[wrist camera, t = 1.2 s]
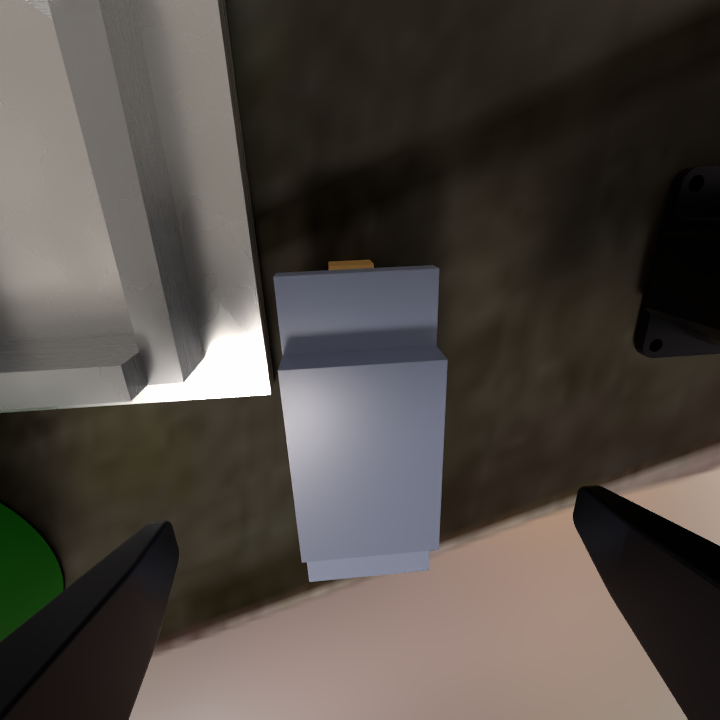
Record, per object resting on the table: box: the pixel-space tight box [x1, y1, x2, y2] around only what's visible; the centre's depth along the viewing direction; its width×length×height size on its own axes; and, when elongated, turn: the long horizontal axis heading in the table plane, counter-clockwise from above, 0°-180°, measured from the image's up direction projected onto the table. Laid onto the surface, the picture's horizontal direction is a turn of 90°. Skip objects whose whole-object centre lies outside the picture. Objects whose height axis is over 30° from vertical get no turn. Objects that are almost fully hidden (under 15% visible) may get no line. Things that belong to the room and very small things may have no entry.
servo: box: [273, 260, 448, 582], centre depth 13 cm, size 4×10×5 cm, turn 2°
